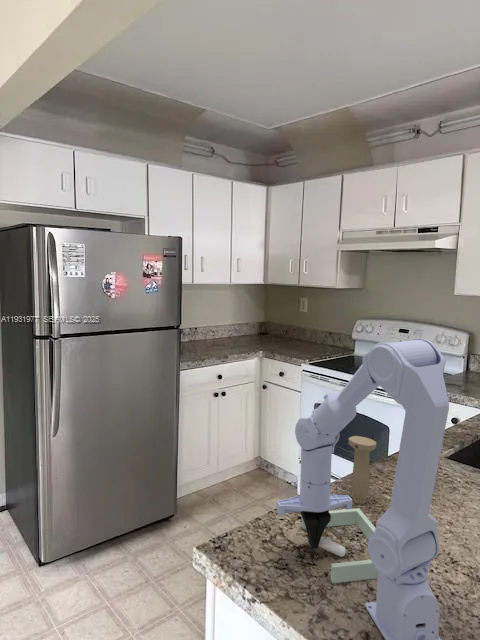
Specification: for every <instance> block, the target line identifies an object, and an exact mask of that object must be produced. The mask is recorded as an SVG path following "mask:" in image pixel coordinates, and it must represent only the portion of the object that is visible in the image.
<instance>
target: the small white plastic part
mask: <svg viewBox="0 0 480 640" xmlns="http://www.w3.org/2000/svg"><path fill="white" fill-rule="evenodd" d="M318 547H320V548H322V549H324V550H326V551H328V552H330V553H333V554H335V555H336V556H339V558H340V557H341V558H343V557H344V556H345V555H347V549H346V547H345V546H343V545H341V544H339V543H337V542H335V541H334V540H331V538H330V537H329V536H326V537H325V536H321V539H320V542H319V545H318Z"/></svg>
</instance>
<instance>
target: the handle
mask: <svg viewBox="0 0 480 640" xmlns="http://www.w3.org/2000/svg"><path fill="white" fill-rule="evenodd" d="M348 445H349V446H350V447H351V448H353V451H354V455H353V456H354V457H353V466H352V473H351V475H352V476H351V478H352V479H351V487H352V488H351V491H352V502H353V501H354V503H355V504H360V505H365V504H367V502H368V495H369V490H370V453H371V452H373V451H374V450H376V449H377V441H375V440H374V439H372V438H369V437H365V436H359V435H353V436H350V437H348Z"/></svg>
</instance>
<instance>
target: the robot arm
mask: <svg viewBox="0 0 480 640" xmlns="http://www.w3.org/2000/svg"><path fill="white" fill-rule="evenodd" d="M446 362H447V361H446V358H445V357H444V355H443V354H442V352H440V350H439V349H438V347H437V346H436V345H435V344H434V343H433V342H432V341H430V340H428V339H427V338H421V337H420V338H416V339H412V340H403V341H394V342H391V341H390V342H387V341H386V342H385V341H381V342H377V343H375V344H374V345H373V346H372V347H371V348H370V349H369V351H368V352H367V353H365V354H364V355H363V356H362V364H361V365H360V366H359V368H358V369H357V370H356V372H355V373H354V374H353V375H352V377H351V378H350V379H349V380H348V382H347V383H346V385H345V386H344V387H343V388H342V389H341V390H340V391H334V392H333V391H332V392H328V393H326V394H325V395H324V396H323V399H324V400H323V401H322V402H321V403H320V404H319V405H318V407H316V408H314V409H313V410H312V412H311V415H310V416H308V417H300V418H299V419H298V420H297V423H296V424H295V428H294V434H295V438H296V442H297V443H298V445H299V446H300V476H299V477H300V483H299V484H300V485H299V488H300V489H299V495H296V496H292V497H289V498H286V499H280V500H276V511H277V512H276V513H277V514H278V516H285V514H286V513H287V514H289V513H300V515H301V519H302V518H303V520H304V523H305V526H306V529H305V530H306V534H307V539H308V544H309V546H310V548H311V549H319V542H320V539H321V537H323V536H322V535H323V534H324V531H325V529H326V528H327V527H326V526H327V525H328V523H329V522H330V520H331V515H330V513H329V511H331V510H339V509H353V498H352V497H350V496H349V494H348V495H347V494H342V495H341V494H332V493H331V485H332V484H331V478H332V476H331V475H332V455H333V454H334V453H335V446H336V444H337V443H338V442H339V439H340V436H341V435H340V432H342V430H344V429H345V428H346V427H347V425H349V423H350V422H352V421H353V419H355V417H356V416H357V406H358V405H359V404H361V402H362V401H364V400H365V399H366V398H367V397H368V396H370V395H371V394H372V393H374V391H375V390H377V389H378V388H379V387H381V389H382V390H384V391H385V393H387V394H388V395H389V396H390V397H391V399H393V400H394V401H395V402H396V403H397V404H398V405H401V406H402V407H403V409H404V411H405V414H404V419H403V425H402V432H401V436H400V437H401V438H400V442H399V443H400V444H399V450H398V456H397V461H396V467H395V473H394V480H393V484H392V485H393V486H392V492H391V496H390V497H391V498H390V503H389V506H388V508H387V509H386V510H385V511H384V513H383V514H382V515H381V516H380V517H379V519H378V520H377V522H376V525H375V528H376V529H375V532H374V533H373V534H372V535H371V536H370V538H369V540H368V539H367V540H368V542H367V552H368V556H369V558H370V559H369V560H371V561H372V563H373V565H374V566H375V568H376V569H377V570H378V575H377V578H376V579H377V580H376V600H375V601H373V602H372V601H371V602H366V603H365V604H364V605H365V609H366V610H367V612H368V613H369V615H370V617H371V618H372V620H373V623H375V625H376V627H377V628H378V630H379V632H380V634H381V636H382V637H383V638H384V640H442V638H441V636H439V630H440V616H441V615H440V614H441V609H440V608H441V607H440V603H439V600H438V599H437V598H436V596H435V595H434V593H433V591H432V588H431V586H430V582H429V570H430V568H431V561H432V560H435V559H436V558H437V556H439V553H440V547H441V546H440V540H439V536H438V527H439V522H438V520H436V519H435V517H434V516H433V515H432V514H431V513H430V510H431V504H432V500H433V495H434V488H435V484H436V479H437V472H438V467H439V463H440V457H441V452H442V446H443V441H444V437H445V432H446V425H447V421H448V417H449V416H448V415H449V411H450V402H449V397H448V392H447V388H446V387H447V386H446V382H445V378H444V372H445V368H446V367H445V365H446Z"/></svg>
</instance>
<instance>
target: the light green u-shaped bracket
mask: <svg viewBox="0 0 480 640" xmlns="http://www.w3.org/2000/svg"><path fill="white" fill-rule="evenodd" d="M329 513H330V515H331V520H330V522H329V523H328V525H327V526H326V528H327V527H328V528H330V527H340V526H350V525H356V527H358V528H359V530H360V532H362V534H363V536H365V538H366V539H367V540H369V538H370V536H371V535H372V534H373V533H374V532H375V529H376V526H375V525H374V524H373V523H372V522H371V520H370V519H369V517H367V516H366V515H365V514H364V513H363V511H362V510H361V509H360V508H359V507H358V508H352V509H346V508H343V509H331V510H329ZM300 527H301V528H302V529H303V530H306V526H305V523H304V520H303V518H302V517H301V526H300ZM330 566H331V567H330V581H331V583H332V584H340V583H341V584H342V583H348V582H357V581H366V580H367V581H368V580H375V579H377V575H378V570H377V569H376V568H375V566H374V565H373V563H372V561H371V559H365V560H363V559H362V560H356V561H354V560H353V561H343V562H336V563H331V565H330Z"/></svg>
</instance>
